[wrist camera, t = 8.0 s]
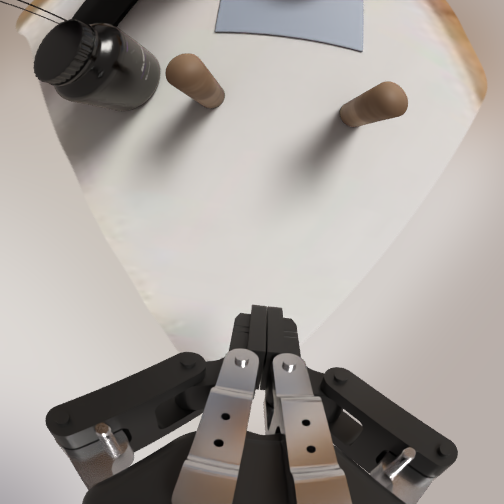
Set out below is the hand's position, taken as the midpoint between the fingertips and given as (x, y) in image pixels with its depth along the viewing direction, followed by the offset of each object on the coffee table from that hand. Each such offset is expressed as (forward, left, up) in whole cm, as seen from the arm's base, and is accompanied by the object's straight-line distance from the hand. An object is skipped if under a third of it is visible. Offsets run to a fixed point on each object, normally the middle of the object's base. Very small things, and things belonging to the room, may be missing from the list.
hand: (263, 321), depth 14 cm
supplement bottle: (-15, -15, -14) cm, 25 cm away
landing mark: (-27, 0, -14) cm, 30 cm away
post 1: (-13, -6, -14) cm, 20 cm away
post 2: (-13, +7, -14) cm, 20 cm away
